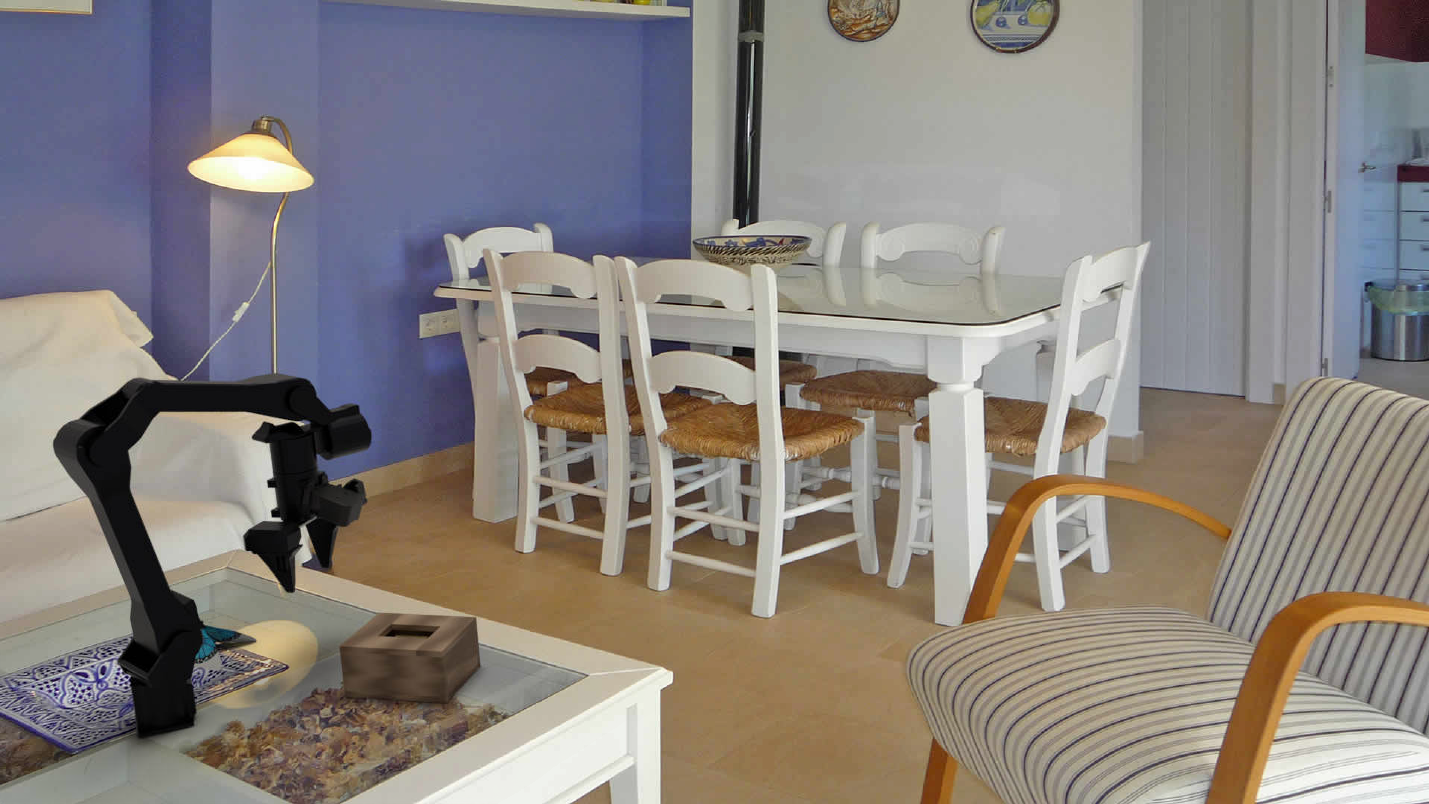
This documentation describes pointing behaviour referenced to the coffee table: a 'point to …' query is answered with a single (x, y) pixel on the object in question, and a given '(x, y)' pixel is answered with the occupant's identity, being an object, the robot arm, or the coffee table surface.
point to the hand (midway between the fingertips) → (308, 579)
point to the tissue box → (410, 657)
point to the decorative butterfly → (208, 650)
